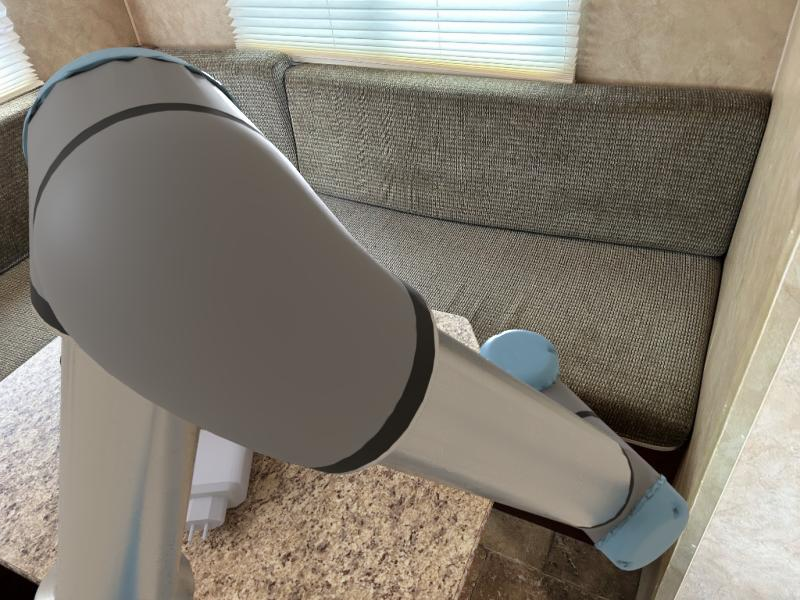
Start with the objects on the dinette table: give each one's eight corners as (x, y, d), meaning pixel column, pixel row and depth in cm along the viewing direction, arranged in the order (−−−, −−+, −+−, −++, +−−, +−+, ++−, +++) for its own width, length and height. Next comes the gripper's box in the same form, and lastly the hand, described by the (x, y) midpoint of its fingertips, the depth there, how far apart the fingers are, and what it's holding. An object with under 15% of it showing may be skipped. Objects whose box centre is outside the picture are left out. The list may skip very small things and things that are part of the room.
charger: (165, 555, 73) (191, 453, 85) (240, 547, 73) (256, 446, 85) (151, 534, 70) (180, 432, 82) (230, 526, 70) (247, 424, 82)
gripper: (383, 537, 63) (226, 469, 72) (472, 375, 80) (336, 336, 88) (375, 496, 58) (207, 428, 67) (471, 333, 75) (327, 296, 84)
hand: (280, 376), depth 78 cm, fingers open, 13 cm apart
